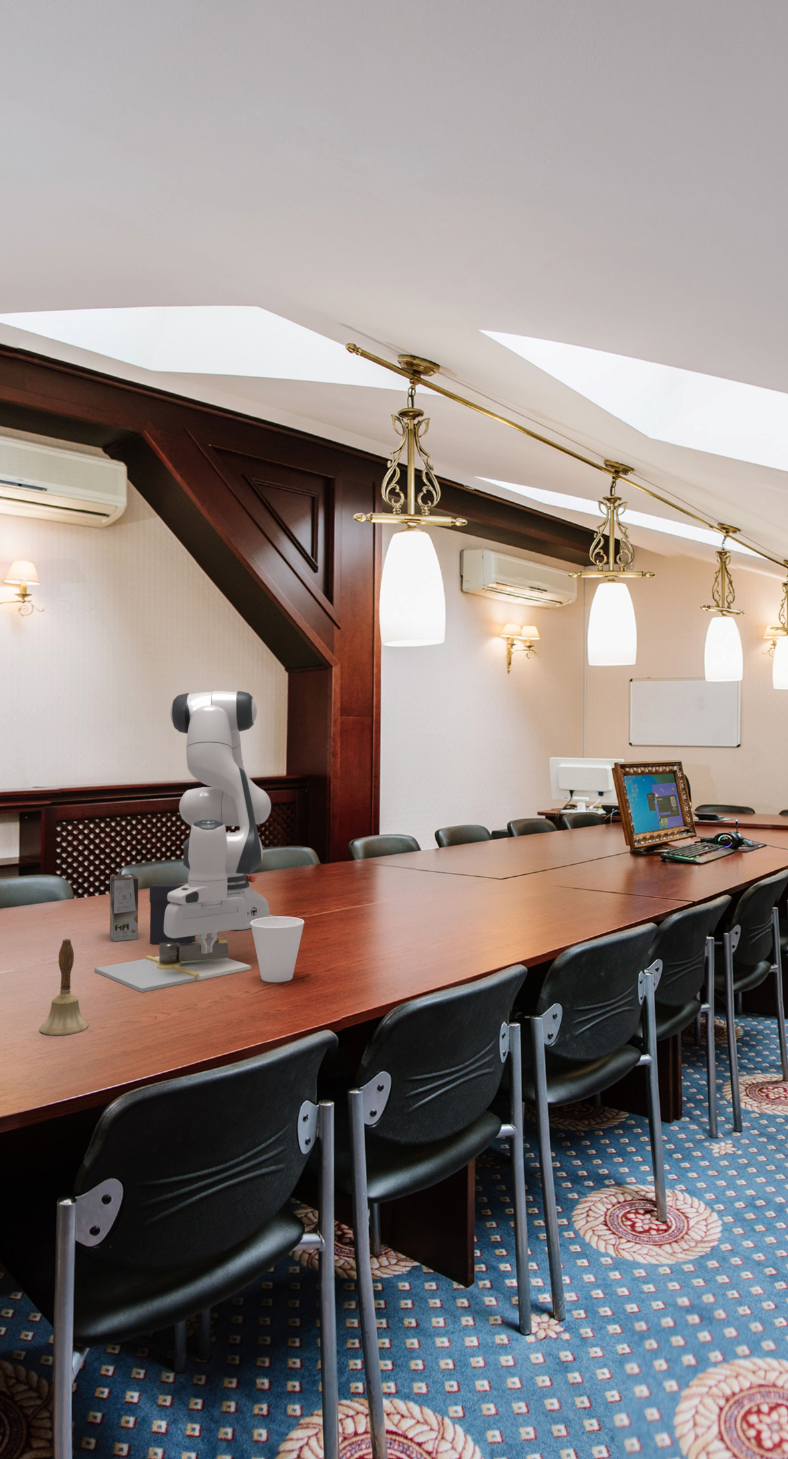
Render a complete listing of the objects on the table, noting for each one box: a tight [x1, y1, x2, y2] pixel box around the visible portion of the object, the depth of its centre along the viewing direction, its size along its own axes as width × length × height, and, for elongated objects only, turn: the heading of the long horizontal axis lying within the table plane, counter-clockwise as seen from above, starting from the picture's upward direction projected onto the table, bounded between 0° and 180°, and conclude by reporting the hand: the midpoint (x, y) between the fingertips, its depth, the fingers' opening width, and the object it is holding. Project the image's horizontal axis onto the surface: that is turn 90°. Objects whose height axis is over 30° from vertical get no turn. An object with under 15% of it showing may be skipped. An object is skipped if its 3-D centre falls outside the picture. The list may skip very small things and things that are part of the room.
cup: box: [250, 915, 305, 983], centre depth 191 cm, size 12×12×12 cm
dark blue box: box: [149, 883, 196, 945], centre depth 223 cm, size 11×4×15 cm, turn 84°
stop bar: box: [158, 937, 229, 964], centre depth 199 cm, size 15×4×4 cm, turn 111°
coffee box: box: [109, 873, 139, 942], centre depth 230 cm, size 9×6×16 cm
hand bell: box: [39, 938, 90, 1036], centre depth 157 cm, size 8×8×16 cm
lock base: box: [94, 939, 252, 993], centre depth 196 cm, size 27×22×4 cm
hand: (206, 953), depth 197 cm, fingers closed
